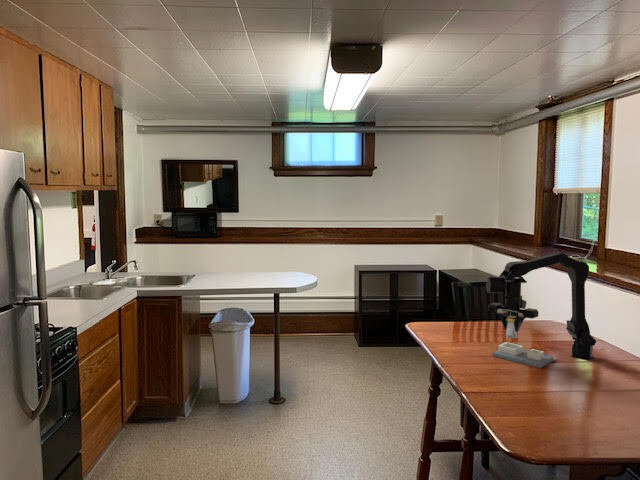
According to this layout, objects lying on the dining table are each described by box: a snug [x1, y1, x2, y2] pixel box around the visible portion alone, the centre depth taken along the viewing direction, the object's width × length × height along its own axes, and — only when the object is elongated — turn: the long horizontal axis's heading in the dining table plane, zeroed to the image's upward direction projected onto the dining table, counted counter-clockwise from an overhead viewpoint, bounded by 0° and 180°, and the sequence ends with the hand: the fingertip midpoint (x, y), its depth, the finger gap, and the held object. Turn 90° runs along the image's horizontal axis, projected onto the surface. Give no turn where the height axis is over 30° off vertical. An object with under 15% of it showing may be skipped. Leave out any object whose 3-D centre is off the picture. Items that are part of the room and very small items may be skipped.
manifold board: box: [492, 341, 554, 369], centre depth 191 cm, size 19×13×4 cm
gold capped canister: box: [505, 315, 518, 339], centre depth 194 cm, size 5×5×8 cm
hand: (511, 330), depth 194 cm, fingers closed on gold capped canister, 4 cm apart
